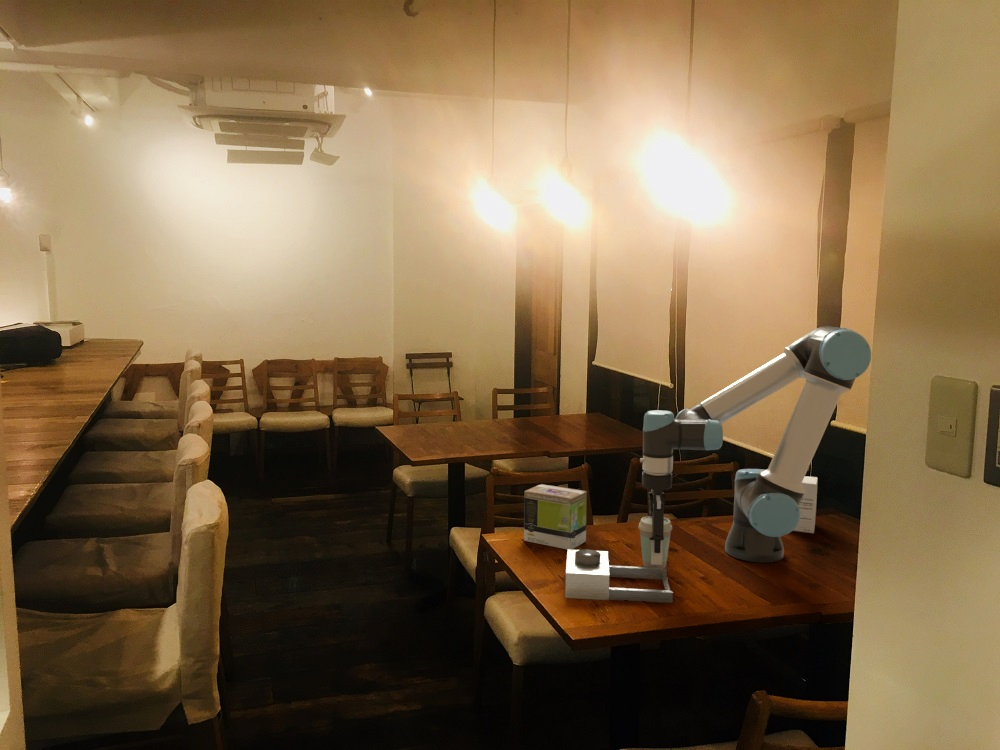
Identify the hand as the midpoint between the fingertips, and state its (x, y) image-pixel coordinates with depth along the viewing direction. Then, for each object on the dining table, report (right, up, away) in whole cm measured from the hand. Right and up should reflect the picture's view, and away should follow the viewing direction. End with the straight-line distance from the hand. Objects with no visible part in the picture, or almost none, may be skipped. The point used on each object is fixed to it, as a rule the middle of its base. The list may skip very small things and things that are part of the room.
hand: (655, 558), depth 207 cm
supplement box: (+49, +1, +34) cm, 60 cm away
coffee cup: (0, -2, 0) cm, 2 cm away
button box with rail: (-12, -4, -13) cm, 18 cm away
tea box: (-25, 0, +19) cm, 31 cm away
